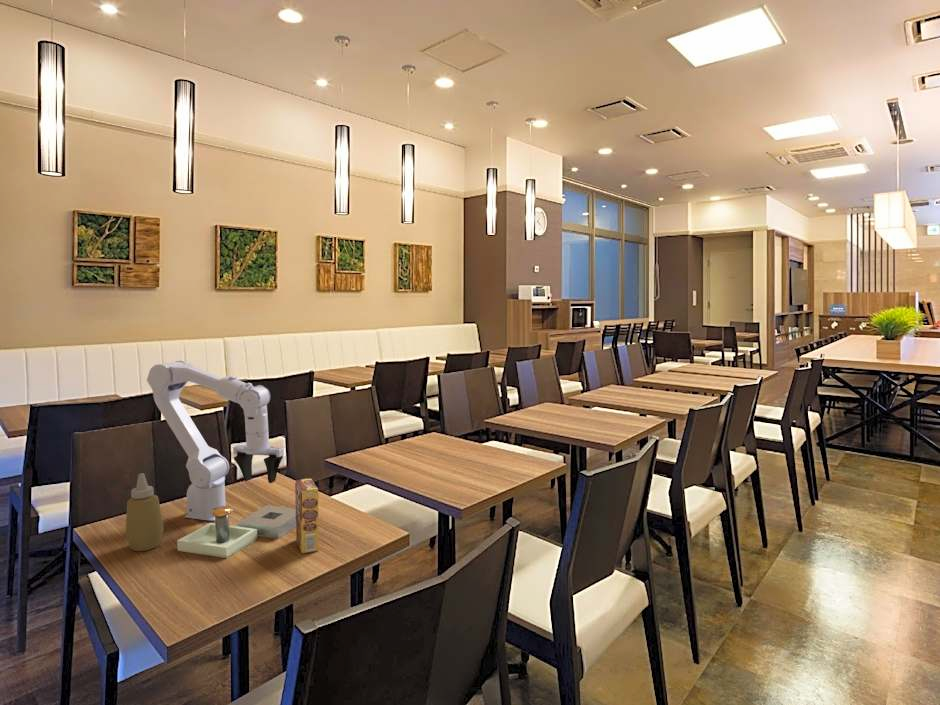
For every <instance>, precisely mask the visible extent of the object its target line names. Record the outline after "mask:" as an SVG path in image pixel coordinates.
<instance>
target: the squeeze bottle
mask: <svg viewBox="0 0 940 705" xmlns="http://www.w3.org/2000/svg"><path fill="white" fill-rule="evenodd" d="M154 489H155V488H154V487H153V486H152V485H149V484H148V482H147V478H146V475H145V472H144V473H143V472H142V473H139V474H138V476H137V481H136V487H134V488H132V489H131V490H130V493H131V494H130V495H131V498H129V499H128V500H127V502H126V516H125V517H126V520H125V534H124V535H125V538H126V540H127V541H128V544H129V546H130V549H131V550H132V551H134V552H145V551H148V550H153V549H155V548H156V547H158V546H159V545H160V544H161V540H162V538H163V537H162V536H163V534H164V530H165V528H164V522H163V521H164V520H163V516H162V510H161V505H160V499H159V496H158V495H156V494H154V492H155V490H154Z"/></svg>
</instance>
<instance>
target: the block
mask: <svg viewBox="0 0 940 705" xmlns="http://www.w3.org/2000/svg"><path fill="white" fill-rule="evenodd" d="M237 526H238V527H245V528H252V529H257V537H261V538H262V537H264V538H270V539H278V540H279V539H281V538H282V537H284V536H285V535H286V534H288V533H289V532H292V530H294V529H296V508H293V507H284V506H276V505H269V504H266V505H265V506H262V507H261V508H259V509H258V510H256V511H254V512H252V513H250V514H249V515H247V516H245V517H244V518H242V519H239V520H238V521H237Z"/></svg>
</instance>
